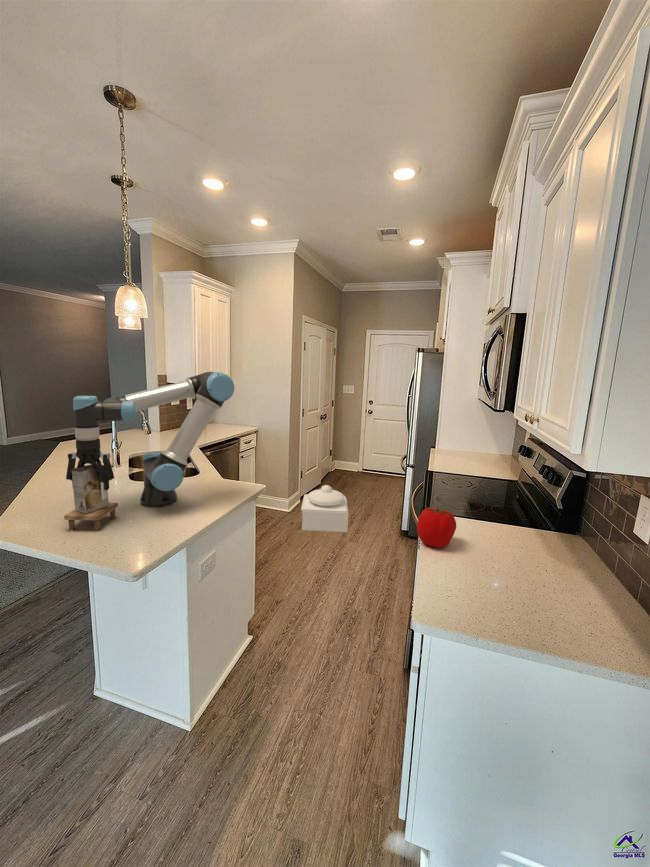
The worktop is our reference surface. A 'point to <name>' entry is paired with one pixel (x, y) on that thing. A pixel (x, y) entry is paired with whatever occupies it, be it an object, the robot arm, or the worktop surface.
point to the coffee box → (87, 489)
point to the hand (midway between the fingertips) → (91, 497)
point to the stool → (91, 516)
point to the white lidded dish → (325, 511)
